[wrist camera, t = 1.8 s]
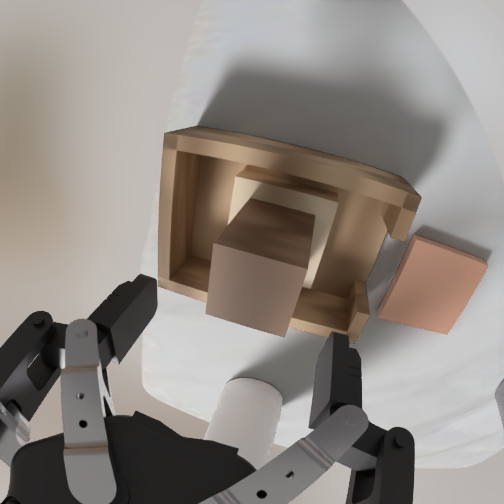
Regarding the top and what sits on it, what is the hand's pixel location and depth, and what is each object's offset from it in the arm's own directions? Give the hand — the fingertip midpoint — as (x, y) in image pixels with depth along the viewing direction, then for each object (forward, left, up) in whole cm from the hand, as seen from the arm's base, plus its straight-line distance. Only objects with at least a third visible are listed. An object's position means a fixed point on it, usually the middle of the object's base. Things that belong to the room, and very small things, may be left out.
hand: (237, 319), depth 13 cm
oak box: (0, 0, -12) cm, 12 cm away
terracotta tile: (-15, +2, -12) cm, 19 cm away
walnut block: (0, 0, -9) cm, 9 cm away
